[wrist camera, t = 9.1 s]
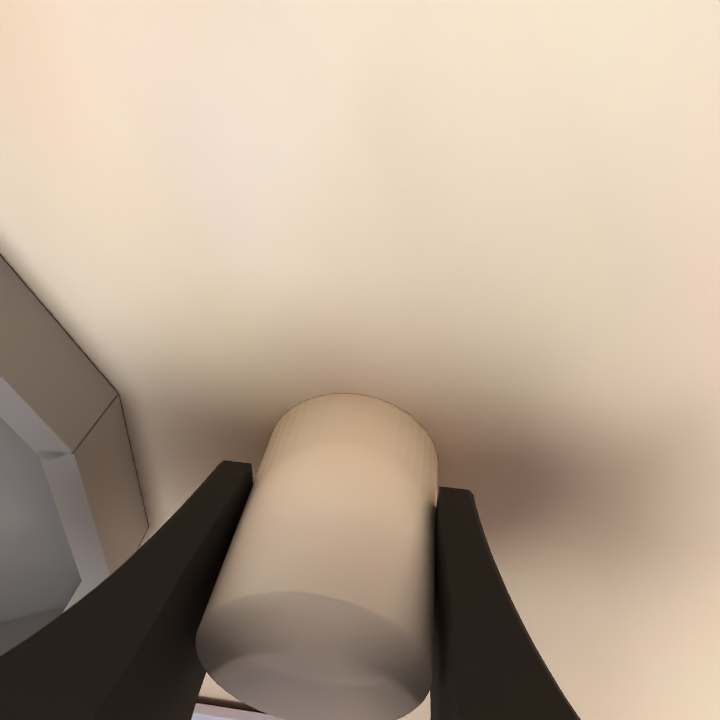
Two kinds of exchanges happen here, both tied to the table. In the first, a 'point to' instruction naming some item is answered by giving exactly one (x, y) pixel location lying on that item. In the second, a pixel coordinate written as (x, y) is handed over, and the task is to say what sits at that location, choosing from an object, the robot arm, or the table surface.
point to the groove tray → (57, 470)
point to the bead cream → (331, 569)
